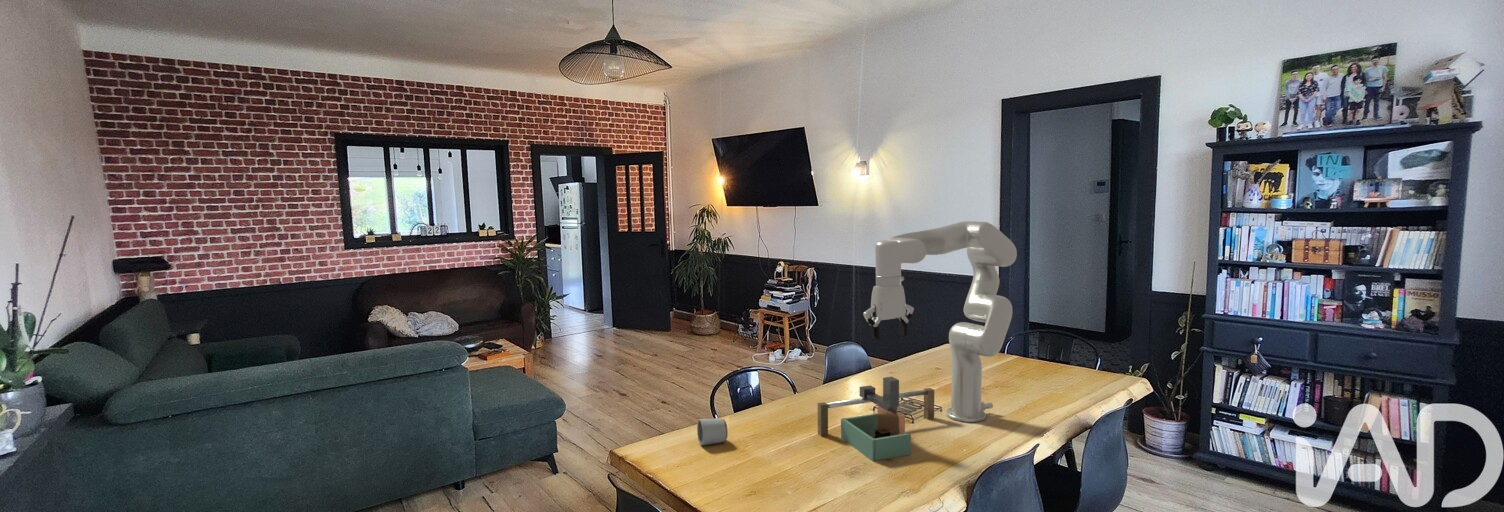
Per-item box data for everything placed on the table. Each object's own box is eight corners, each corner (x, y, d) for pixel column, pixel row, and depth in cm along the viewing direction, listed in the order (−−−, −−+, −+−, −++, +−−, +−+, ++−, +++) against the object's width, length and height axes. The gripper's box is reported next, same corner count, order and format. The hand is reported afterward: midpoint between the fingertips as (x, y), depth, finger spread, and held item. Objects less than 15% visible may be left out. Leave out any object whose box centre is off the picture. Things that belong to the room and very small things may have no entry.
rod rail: (929, 416, 215) (930, 388, 214) (934, 418, 213) (934, 389, 212) (817, 433, 201) (817, 403, 201) (821, 436, 199) (820, 405, 198)
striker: (870, 421, 208) (870, 365, 206) (907, 445, 188) (908, 383, 186) (859, 423, 207) (859, 366, 205) (895, 447, 186) (896, 385, 185)
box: (876, 432, 202) (876, 413, 201) (910, 454, 184) (910, 434, 184) (841, 437, 198) (840, 418, 197) (872, 461, 180) (872, 440, 179)
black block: (904, 451, 188) (904, 436, 188) (883, 455, 185) (883, 440, 185) (881, 436, 200) (881, 422, 199) (860, 440, 197) (860, 425, 196)
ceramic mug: (729, 445, 193) (728, 420, 193) (702, 449, 191) (702, 423, 190) (719, 433, 203) (718, 410, 203) (694, 437, 201) (693, 413, 200)
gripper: (905, 277, 200) (906, 331, 202) (857, 282, 194) (858, 338, 195) (920, 280, 193) (920, 336, 195) (870, 285, 187) (871, 343, 188)
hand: (889, 337), depth 195 cm, fingers open, 9 cm apart
